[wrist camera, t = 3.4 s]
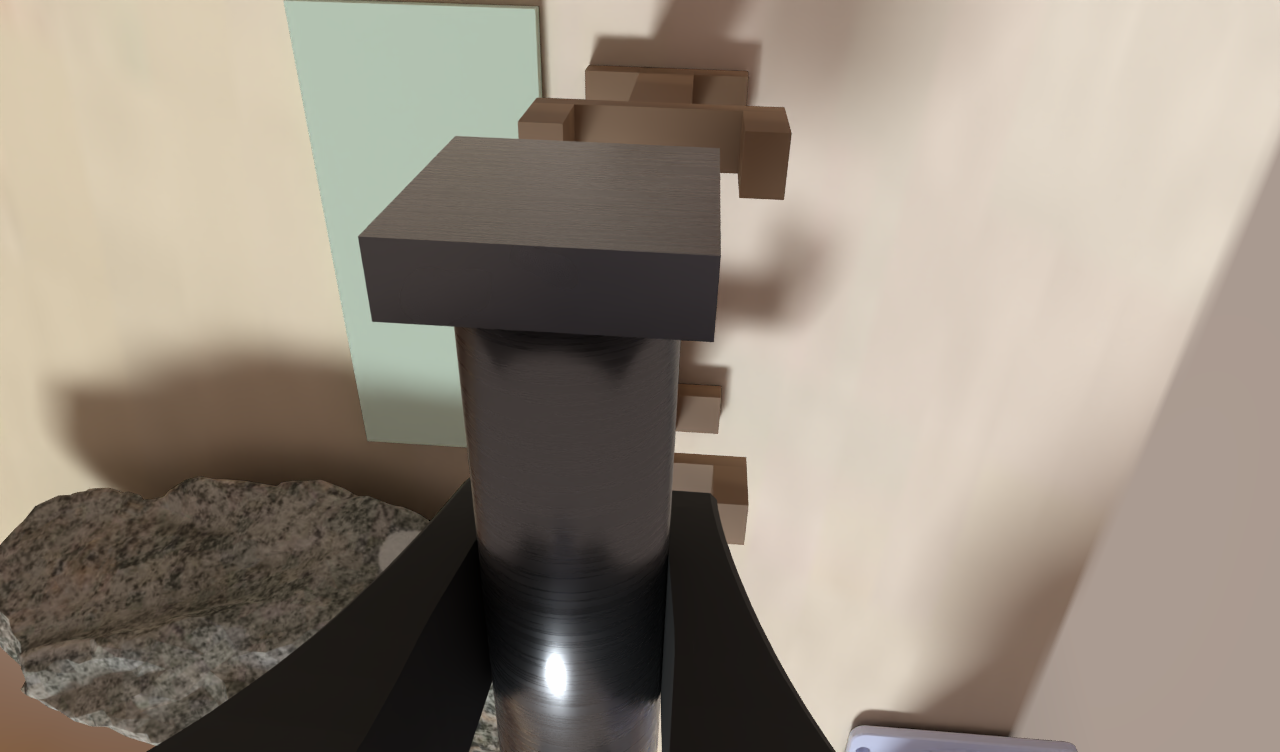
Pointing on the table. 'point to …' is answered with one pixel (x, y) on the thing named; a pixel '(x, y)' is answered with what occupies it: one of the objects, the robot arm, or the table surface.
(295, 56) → the mat
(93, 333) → the table surface
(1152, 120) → the table surface
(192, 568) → the rock
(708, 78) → the rail stand
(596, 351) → the column with square cap
